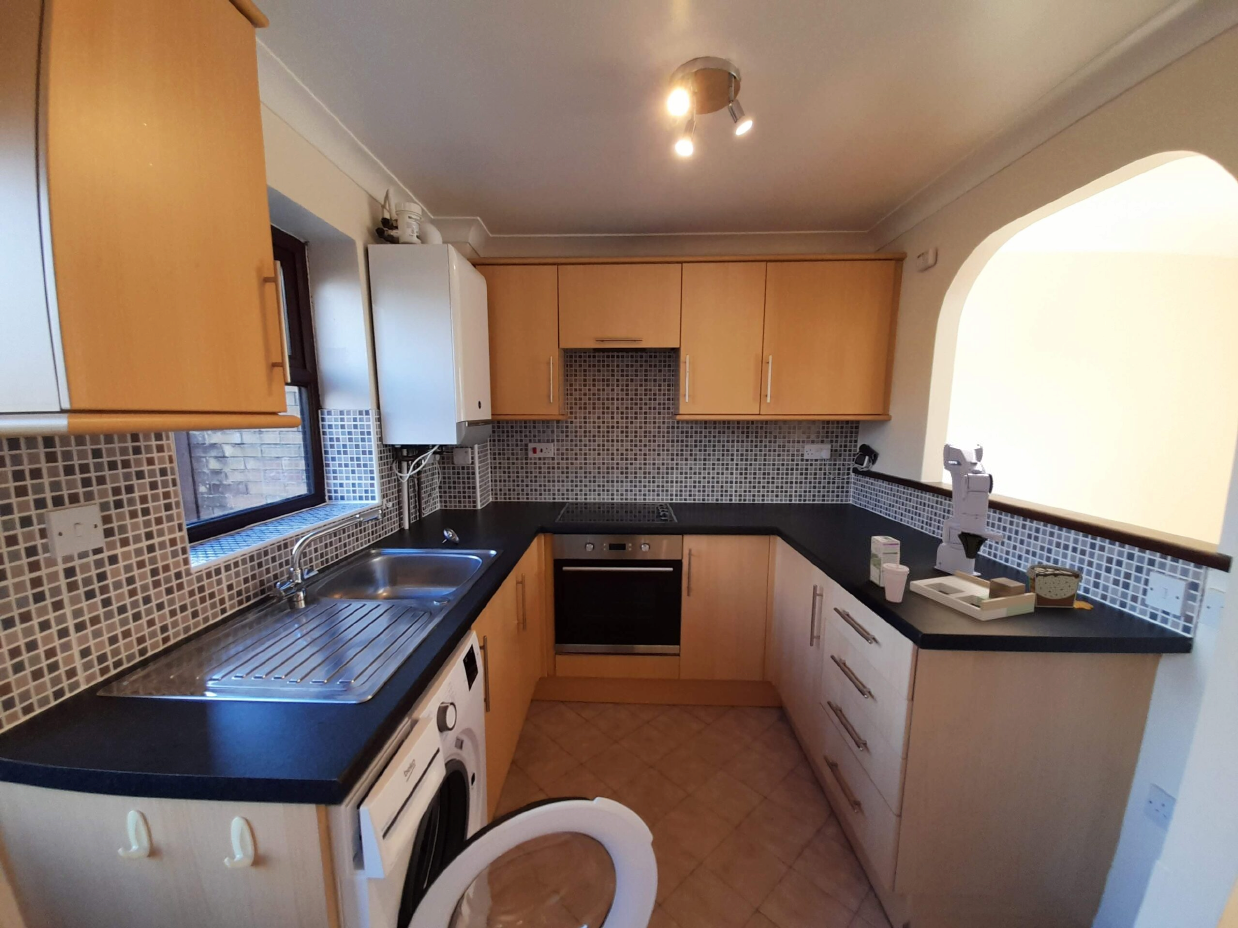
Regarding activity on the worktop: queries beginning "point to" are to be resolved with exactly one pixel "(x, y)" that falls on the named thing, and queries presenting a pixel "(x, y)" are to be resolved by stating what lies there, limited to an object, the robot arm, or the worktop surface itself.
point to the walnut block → (1005, 588)
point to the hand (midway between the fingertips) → (970, 558)
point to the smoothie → (895, 580)
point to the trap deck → (973, 596)
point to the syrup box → (882, 556)
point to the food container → (1053, 585)
